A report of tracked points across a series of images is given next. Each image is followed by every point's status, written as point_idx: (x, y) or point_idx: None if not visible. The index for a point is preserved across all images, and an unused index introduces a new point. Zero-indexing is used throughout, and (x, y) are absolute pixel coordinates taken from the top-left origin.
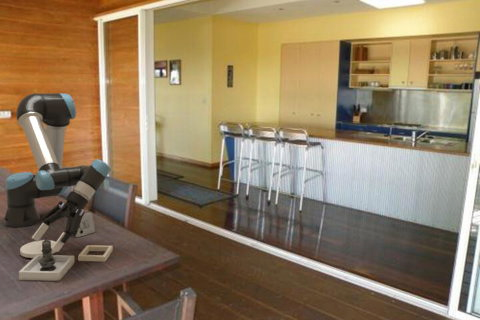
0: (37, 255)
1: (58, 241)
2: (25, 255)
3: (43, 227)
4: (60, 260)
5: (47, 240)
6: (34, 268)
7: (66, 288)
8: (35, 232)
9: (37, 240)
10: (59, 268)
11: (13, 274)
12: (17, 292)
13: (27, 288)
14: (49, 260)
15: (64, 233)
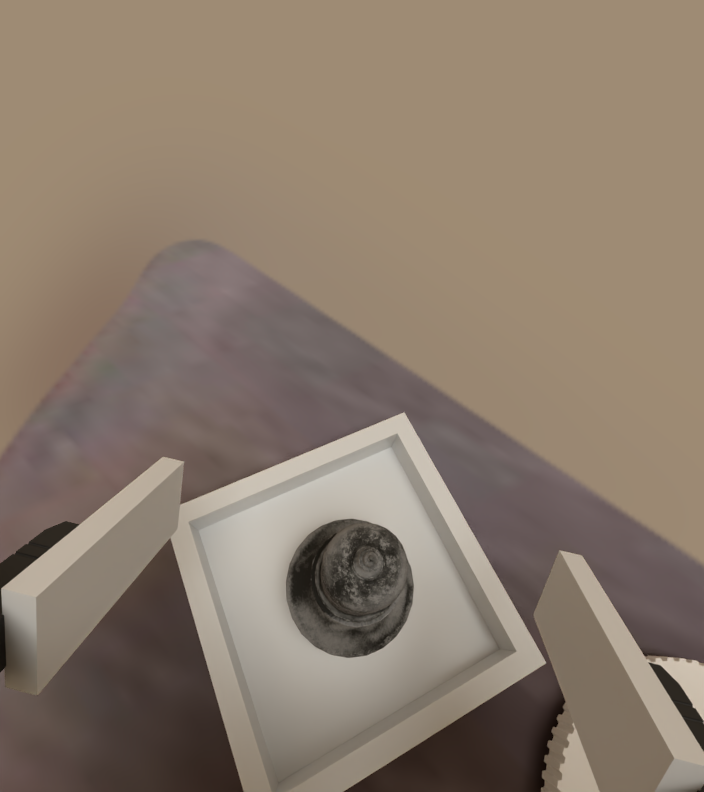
0: (531, 654)
1: (110, 507)
2: (652, 660)
3: (622, 724)
4: (356, 737)
5: (355, 569)
6: (426, 549)
7: (83, 475)
8: (611, 604)
9: (540, 610)
10: (278, 634)
11: (479, 461)
12: (297, 350)
13: (284, 392)
14: (310, 564)
15: (13, 590)
